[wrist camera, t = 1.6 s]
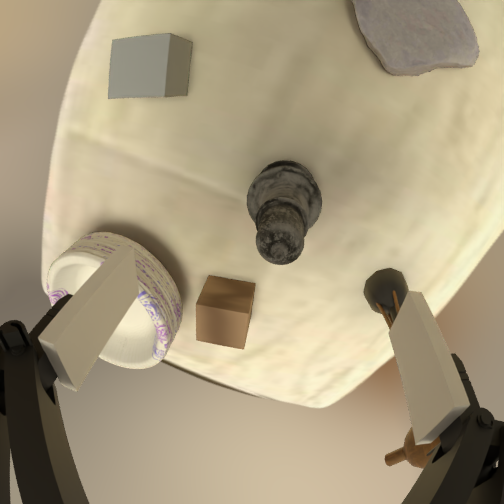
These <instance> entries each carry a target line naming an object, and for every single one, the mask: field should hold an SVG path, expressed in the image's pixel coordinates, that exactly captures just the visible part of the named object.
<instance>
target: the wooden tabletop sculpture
mask: <svg viewBox="0 0 504 504" xmlns="http://www.w3.org/2000/svg"><path fill="white" fill-rule="evenodd" d="M408 291H409V290H408V286H407V283H406V281H405V279H404V277H403V274H402V272H399V271H397V270H394V269H392V268H388V269H384V270H380V271H376V272H375V273H374V274H373V275H372V276H371V277H370V278H369V279H368V280H367V281H366V284H365V289H364V295H365V298H366V299H367V301H368V303H369V305H370V307H371V308H372V310H374V311H375V312H377V313H380V314H382V315H383V316H384V318H385V320H386V322H387V325H388V327H389V329H391V327H392V325H393V323H394V321H395V319H396V317H397V315H398V313H399V311H400V308H401V306H402V304H403V302H404V300H405V298H406V295H407V293H408ZM439 443H440V438H439V436H438V437H437V438H436V439H435V440H434V441H433V442H431V443H428V444H419V445H415V439H414V434H413V429H412V427H411V428H410V430H409V432H408V434H407V435H406V438H405V442H404V447H402V448H399V449H397V450H395V451H393V452H391V453H388V454H386V455H385V462H386V464H387V465H388V466H392V465H394V464H397V463H399V462H401V461H404V460H407V461H408V462H409V463H410V464H411V465H412V466H415V467H419V468H423V469H424V468H425V466H426V464H427V462H428V461H429V459H430V457H431V455H432V453H431V454H430V455H429V456H427V453H428V452H429V451H431V450H432V449H433V448H434V447H435V446H436V445H438V444H439Z"/></svg>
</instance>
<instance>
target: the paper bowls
mask: <svg viewBox="0 0 504 504" xmlns="http://www.w3.org/2000/svg"><path fill="white" fill-rule="evenodd" d="M120 245H123V246H128V247H134V252H135V262H136V272H137V280H138V288H139V295H138V296H137V298H136V299H135V301H134V302H133V304H132V305H131V307H130V308H129V310H128V311H127V313H126V314H125V316H124V317H123V319H122V320H121V322H120V323H119V325H118V326H117V328H116V330H115V331H114V333H113V334H112V336H111V337H110V339H109V340H108V342H107V344H106V345H105V347H104V348H103V350H102V352H101V353H100V355H99V356H98V357H99V358H101V359H103V360H105V361H107V362H110V363H112V364H115V365H118V366H121V367H125V368H131V369H143V368H148V367H151V366H154V365H155V364H157V363H159V362H160V361H161V360H162V359H163V358H164V357H165V356H166V354H167V352H168V350H169V347H170V345H171V343H172V342H173V340H174V338H175V335H176V333H177V331H178V329H179V326H180V323H181V320H182V302H181V298H180V294H179V292H178V289H177V286H176V284H175V282H174V280H173V279H172V277H171V276H170V274H169V273H168V271H167V270H166V269H165V267H164V266H163V265H162V264H161V262H160V261H159V260H157V259H156V258H155V257H154V256H153V255H152V254H151V253H150V252H149V251H148V250H146V249H145V248H144V247H143V246H141V245H140V244H138V243H136V242H134V241H133V240H130V239H129V238H127V237H125V236H122V235H119V234H115V233H111V232H94V233H91V234H88V235H85V236H83V237H82V238H81V239H79V240H78V241H76V242H75V243H74V244H73V245H72V246H71V247H70V248H68V249H67V250H66V251H65V252H63V253H62V254H61V255H60V256H59V257H58V258H57V259H56V260H55V261H54V262H53V263H52V264H51V266H50V269H49V272H48V276H47V290H48V296H49V299H50V302H51V304H52V306H53V305H54V304H55V303H56V302H57V301H58V300H59V299H60V298H62V297H64V296H65V295H67V294H71V295H74V294H75V293H76V292H77V291H78V290H79V288H80V287H81V286H82V285H83V284H84V283H85V282H86V281H87V280H88V279H89V277H90V276H91V275H92V274H93V273H94V272H95V271H96V270H97V269H98V268H99V267H100V266H101V265H102V264H103V263H104V261H105V260H106V259H107V258H108V257H109V256H110V255H111V254H112V253H113V252H114V251H115V250H116V249H117V248H118V247H119V246H120Z"/></svg>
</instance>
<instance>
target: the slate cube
mask: <svg viewBox="0 0 504 504" xmlns="http://www.w3.org/2000/svg"><path fill="white" fill-rule="evenodd" d="M192 43H193V42H190V41H188V40H186V39H183V38H181V37H178V36H176V35H174V34H171V33H167V34H155V35H145V36H136V37H128V38H121V39H115V40H112V48H111V58H110V71H109V87H108V99H116V98H139V97H173V96H187V93H188V81H189V71H190V61H191V52H192Z"/></svg>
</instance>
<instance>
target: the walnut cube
mask: <svg viewBox="0 0 504 504" xmlns="http://www.w3.org/2000/svg"><path fill="white" fill-rule="evenodd" d="M254 291H255V283H251V282H245V281H239V280H233V279H227V278H222V277H216V276H210V275H209V276H208V278H207V281H206V283H205V285H204V287H203V289H202V292H201V294H200V296H199V298H198V301H197V303H196V340H198V341H203V342H207V343H212V344H217V345H222V346H228V347H233V348H238V349H244V347H245V342H246V337H247V333H248V328H249V323H250V319H251V312H252V305H253V298H254Z"/></svg>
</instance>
